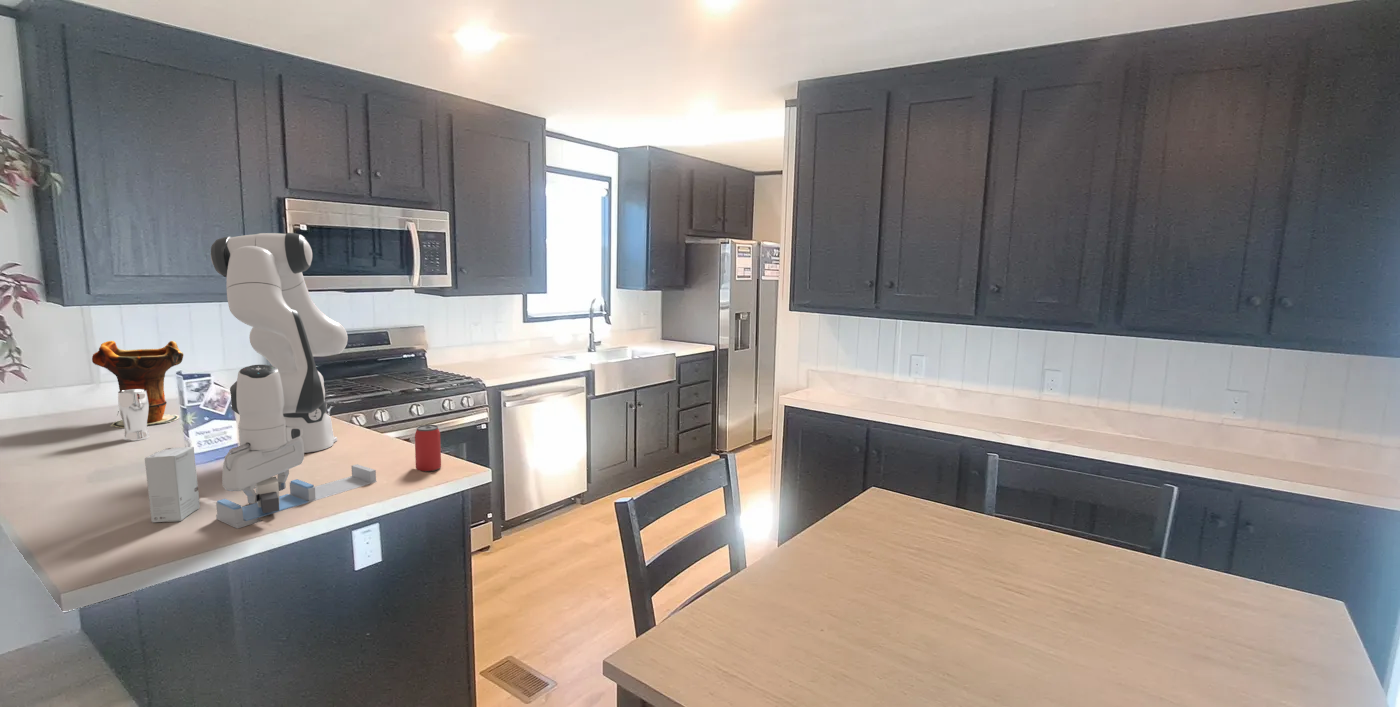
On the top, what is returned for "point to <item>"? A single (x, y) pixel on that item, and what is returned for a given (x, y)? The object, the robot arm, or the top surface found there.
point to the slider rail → (293, 497)
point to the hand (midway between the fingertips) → (267, 495)
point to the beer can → (427, 448)
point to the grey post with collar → (268, 495)
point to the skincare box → (172, 484)
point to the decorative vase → (141, 374)
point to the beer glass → (134, 413)
